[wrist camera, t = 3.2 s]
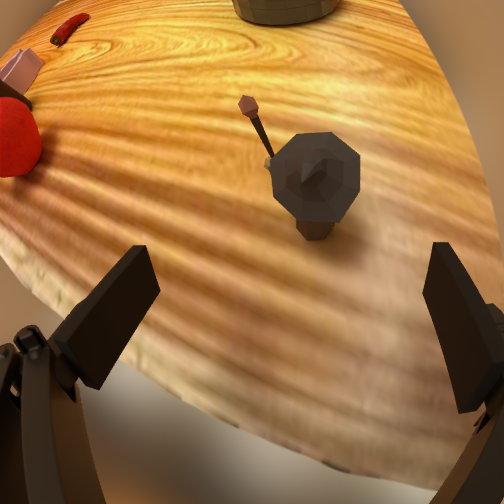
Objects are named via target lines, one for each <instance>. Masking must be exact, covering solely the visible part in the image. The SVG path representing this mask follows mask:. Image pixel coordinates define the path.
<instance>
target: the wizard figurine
mask: <svg viewBox="0 0 504 504" xmlns="http://www.w3.org/2000/svg"><path fill="white" fill-rule="evenodd" d="M238 105H239V107H240V109H241V112H242V114H243V115H245V116H247V117H249V118H250V120H251V122H252V124H253V126H254V127H255V129H256V131H257V133H258V135H259V136H260V138H261V140H262V142H263V144H264V146H265V147H266V149H267V151H268V153H269V155H270V156H269V157H268V158H266V160H265V165H264V167H265V168H266V169H267V170H269V172H270V174H271V178H272V187H273V197H274V198H275V199H276V200H277V201H278V202H279V203H280V204H281V205H282V206H283V207H284V208H286V209H287V210H288V211H289V212H290V213H291V214H292V215H293V216H294V217H295V218H296V228H297V229H298V230H299V231H300V233H301V234H302V235H303V236H304V237H305V238H306V240H321V239H324V238H325V237H326V236H327V234H328V233H329V232H330V231H331V229H332V228H333V227H334V222H335V223H339V222H340V221H341V219H342V218H343V216H344V215H345V213H346V212H347V210H348V209H349V207H350V206H351V204H352V203H353V201H354V200H355V198H356V196H357V195H358V193H359V192H360V155H359V154H358V153H357V152H355V151H354V150H353V149H352V148H351V147H349V146H348V145H347V144H346V143H344V142H343V141H342V140H341V139H339V138H338V137H337V136H335V135H334V134H333V133H332V132H323V133H305V134H296V135H295V136H294V137H293V138H292V139H291V140H290V141H289V142H288V143H287V144H286V145H285V146H284V147H283V148H282V149H281V150H280V151H279V152H278V153H276V154H275V155H274V152H273V150H272V147H271V145H270V143H269V140H268V138H267V135H266V133H265V131H264V128H263V126H262V123H261V121H260V119H259V117H258V115H257V113H258V108H259V107H258V105H257V103H256V101H255V99H254V97H250V96H245V95H243V96H242V98H241V100H240V101H239V103H238Z"/></svg>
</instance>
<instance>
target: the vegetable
mask: <svg viewBox="0 0 504 504" xmlns="http://www.w3.org/2000/svg"><path fill="white" fill-rule="evenodd" d="M89 17H90V15H89V14H86V13H81V14H78V15H75V16H73V17H72V18H70V19H69V20H67V21H66V22H65V23H64V24H63V25H61V26H60V27H59V28H58V29H57V30H56V32H55V33H54V34H53V35H52V37H51V39H50V42H51V44H54V45H56V46H59V45H61V44H63V43H64V41H65V39H66V38H67V37H68V36H69V35H70V33H71V32H72V31H73V29H74V28H76V27H77V26H78V25H79V24H81V23H83V22H84V21H86V20H87V19H88V18H89Z"/></svg>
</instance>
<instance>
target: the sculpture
mask: <svg viewBox="0 0 504 504" xmlns="http://www.w3.org/2000/svg"><path fill="white" fill-rule="evenodd" d="M0 97H11V98H15V99H18V100H19V101H21V102H23V103H24V104H26V105H27V107H28V108H29V110H30V111H31V102H30V100H28V99H27V98H26V97H24V96H23V95H22V94H20V93H19V92H17V91H16V90H15V89H13V88H12V87H11V86H9V85H8V84H6V83H5V82H3V81H2V80H1V79H0Z"/></svg>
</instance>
